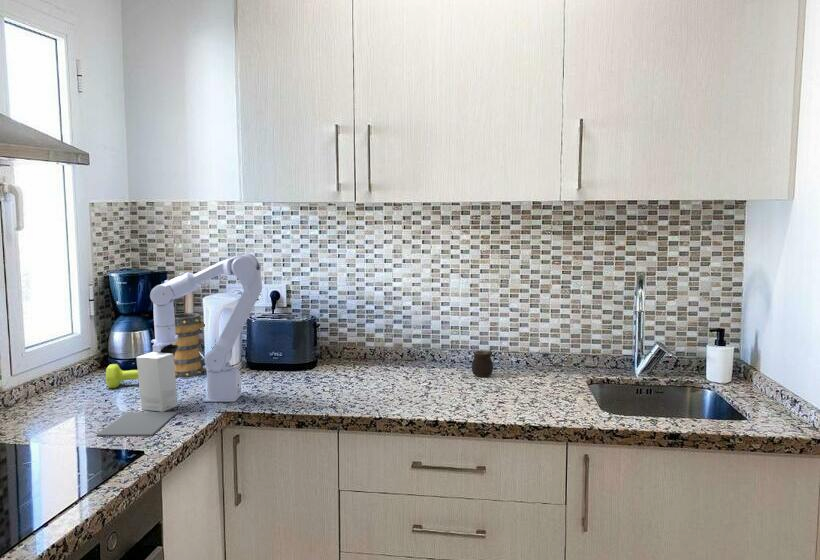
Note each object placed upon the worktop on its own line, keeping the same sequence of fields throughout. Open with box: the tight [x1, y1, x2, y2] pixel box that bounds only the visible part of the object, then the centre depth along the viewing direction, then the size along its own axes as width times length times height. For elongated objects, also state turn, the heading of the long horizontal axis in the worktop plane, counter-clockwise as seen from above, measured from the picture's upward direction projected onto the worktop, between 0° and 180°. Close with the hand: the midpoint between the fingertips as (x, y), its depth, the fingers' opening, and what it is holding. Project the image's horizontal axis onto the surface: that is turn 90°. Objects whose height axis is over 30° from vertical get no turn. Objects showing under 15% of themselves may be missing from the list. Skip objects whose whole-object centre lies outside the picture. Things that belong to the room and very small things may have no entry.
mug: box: [172, 312, 206, 379], centre depth 234 cm, size 13×17×20 cm
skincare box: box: [136, 351, 179, 412], centre depth 196 cm, size 8×7×16 cm
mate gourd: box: [471, 347, 494, 378], centre depth 227 cm, size 7×8×10 cm
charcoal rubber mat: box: [96, 411, 178, 437], centre depth 183 cm, size 14×18×1 cm
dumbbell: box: [105, 363, 139, 389], centre depth 220 cm, size 16×8×7 cm, turn 102°
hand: (167, 370), depth 203 cm, fingers closed
